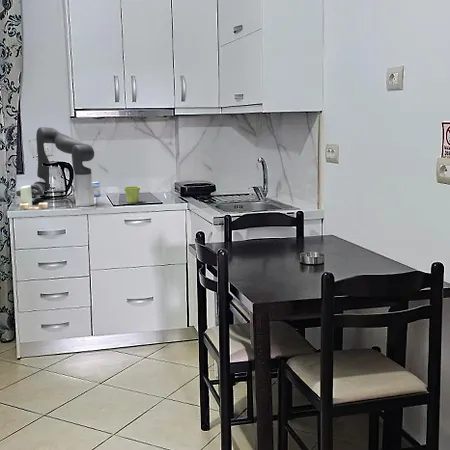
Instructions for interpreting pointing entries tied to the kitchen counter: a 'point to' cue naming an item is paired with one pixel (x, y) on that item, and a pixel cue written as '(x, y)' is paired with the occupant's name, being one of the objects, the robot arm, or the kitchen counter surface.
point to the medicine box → (96, 188)
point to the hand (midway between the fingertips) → (26, 194)
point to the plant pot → (132, 194)
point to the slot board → (26, 206)
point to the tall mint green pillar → (26, 195)
